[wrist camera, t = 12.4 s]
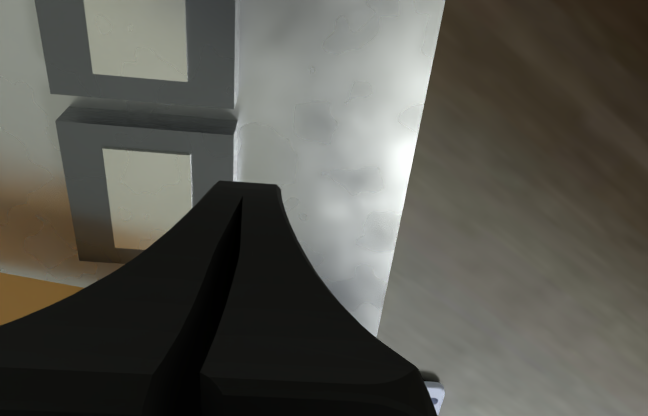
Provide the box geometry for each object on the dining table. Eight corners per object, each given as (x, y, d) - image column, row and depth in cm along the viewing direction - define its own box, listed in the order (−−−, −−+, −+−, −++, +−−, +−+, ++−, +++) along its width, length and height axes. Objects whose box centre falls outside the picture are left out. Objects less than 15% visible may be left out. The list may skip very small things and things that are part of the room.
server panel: (372, 329, 26) (378, 375, 24) (-34, 304, 25) (-69, 351, 23) (461, -123, 16) (485, -117, 14) (-196, -197, 15) (-286, -205, 13)
